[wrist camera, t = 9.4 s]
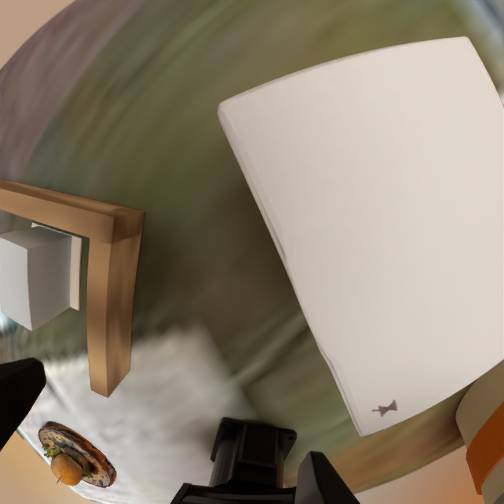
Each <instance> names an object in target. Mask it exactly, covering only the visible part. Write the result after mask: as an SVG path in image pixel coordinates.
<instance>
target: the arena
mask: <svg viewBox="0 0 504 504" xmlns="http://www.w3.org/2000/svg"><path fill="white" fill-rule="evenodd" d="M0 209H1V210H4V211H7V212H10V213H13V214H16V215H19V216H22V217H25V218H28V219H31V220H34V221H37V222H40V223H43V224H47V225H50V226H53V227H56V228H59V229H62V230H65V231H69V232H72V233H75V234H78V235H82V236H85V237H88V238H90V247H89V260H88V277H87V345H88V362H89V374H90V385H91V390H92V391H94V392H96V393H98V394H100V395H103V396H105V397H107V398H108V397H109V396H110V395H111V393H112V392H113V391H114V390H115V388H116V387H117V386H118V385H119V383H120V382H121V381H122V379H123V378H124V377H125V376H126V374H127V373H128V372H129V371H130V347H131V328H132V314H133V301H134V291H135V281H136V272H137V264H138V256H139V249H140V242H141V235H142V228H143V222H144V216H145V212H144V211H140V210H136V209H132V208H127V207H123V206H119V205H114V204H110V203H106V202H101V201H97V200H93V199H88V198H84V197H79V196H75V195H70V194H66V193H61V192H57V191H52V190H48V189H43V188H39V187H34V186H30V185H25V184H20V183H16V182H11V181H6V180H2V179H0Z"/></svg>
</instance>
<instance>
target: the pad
mask: <svg viewBox="0 0 504 504" xmlns="http://www.w3.org/2000/svg"><path fill="white" fill-rule="evenodd" d="M36 226H42V227H45V228H48V229H51V230H54V231H57V232H60V233H63V234H67V235H70V236H72V246H71V266H70V307H72V308H74V309H76V310H78V311H79V310H80V275H81V256H82V243H83V238H80V237H77V236H74V235H71V234H68V233H65V232H61V231H58V230H55V229H52V228H49V227H46V226H43V225H40V224H37V223H34V222H33V223H32V227H36Z"/></svg>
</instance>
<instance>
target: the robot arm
mask: <svg viewBox="0 0 504 504" xmlns="http://www.w3.org/2000/svg"><path fill="white" fill-rule="evenodd" d="M45 385H46V375H45V370H44V365H43V363H42V362H41V361H39V360H38V359H36V358H33V357H32V358H27V359H22V360H18V361H13V362H8V363H3V364H0V451H1V450H2V448H3V447H4V446H5V444H6V443H7V441H8V440H9V438H10V437H11V436H12V435H13V433H14V432H15V430H16V429H17V428H18V426H19V425H20V424H21V423H22V421H23V420H24V419H25V417H26V416H27V414H28V413H29V411H30V410H31V408H32V406H33V405H34V403H35V401H36V400H37V398H38V396H39V395H40V393H41V392H42V390H43V388H44V387H45ZM225 423H227V424H225ZM290 436H292V437H290ZM296 439H297V434H296V432H294V431H288V430H282V429H276V428H270V427H265V426H260V425H255V424H250V423H245V422H241V421H237V420H232V419H228V418H223V419H222V420H221V422H220V426H219V429H218V433H217V436H216V440H215V444H214V447H213V451H212V454H211V458H210V459H211V461H213V462H215V463H214V467H213V471H212V475H211V479H210V483H209V486H199V485H192V484H190V483H183V485H182V487H181V488H180V490H179V491H178V492H177V494H176V495H175V497H174V499H173V500H172V502H171V503H170V504H360V503H359V501H358V500H357V499H356V497H355V496H354V495H353V493H352V492H351V491H350V489H349V488H348V487H347V485H346V484H345V483H344V481H343V480H342V479H341V477H340V476H339V474H338V473H337V472H336V470H335V469H334V467H333V466H332V465H331V463H330V462H329V460H328V459H327V458H326V456H325V455H324V454H323V453H322V452H316V451H310V452H308V454H307V455H306V457H305V458H304V460H303V461H302V463H301V465H300V467H299V470H298V479H297V486H294V487H293V488H283V466H284V460H285V458H286V457H287V455H288V453H289V451H290V450H291V448H292V446H293V444H294V442H295V441H296Z"/></svg>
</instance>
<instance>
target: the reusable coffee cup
mask: <svg viewBox="0 0 504 504" xmlns="http://www.w3.org/2000/svg"><path fill="white" fill-rule="evenodd" d="M456 422H457V425H458V427H459V430H460V432H461V435H462V437H463V440H464V442H465V445H466V447H467V453H466V460H467V463H468V466H469V469H470V472H471V474H472V478H473V481H474V484H475V488H476V491H477V494H479V495H483V498H484V502H485V504H504V360H503V361H501V362H499V363H498V364H497V365H495V366H494V367H493V368H491V369H490V370H489V371H487V372H486V373H485V374H483V375H482V376H480V377H479V378H478V379H477V380H476V381H475V382H474V383H473V385H472V386H471V387H470V388H469V390H468V391H467V392H466V394H465V395H464V397H463V399H462V400H461V402H460V404H459V406H458V409H457V412H456Z"/></svg>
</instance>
